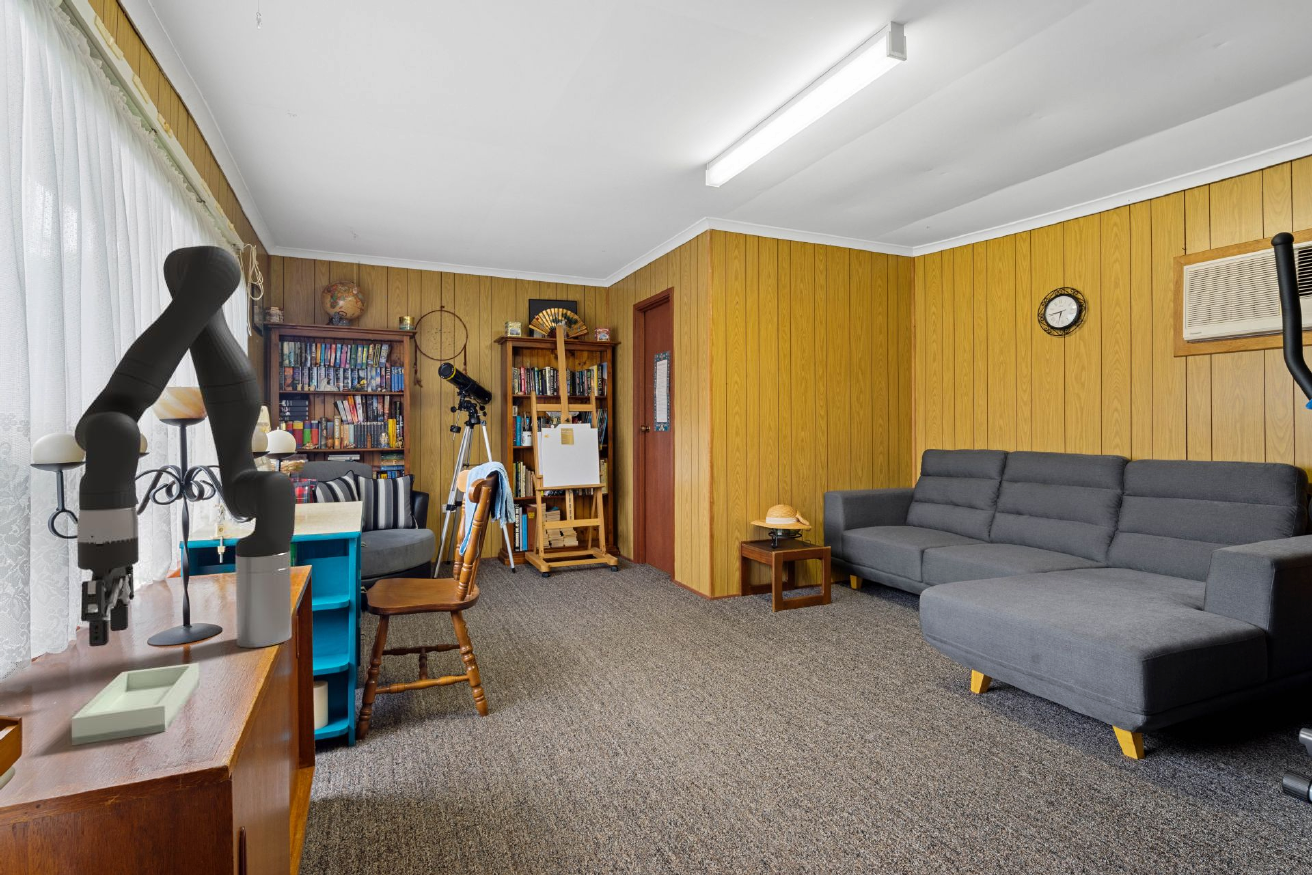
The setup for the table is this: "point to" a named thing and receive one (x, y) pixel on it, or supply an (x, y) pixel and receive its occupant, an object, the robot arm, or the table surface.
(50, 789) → the table surface
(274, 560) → the robot arm
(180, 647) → the table surface
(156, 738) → the table surface
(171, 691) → the tray
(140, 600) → the table surface
